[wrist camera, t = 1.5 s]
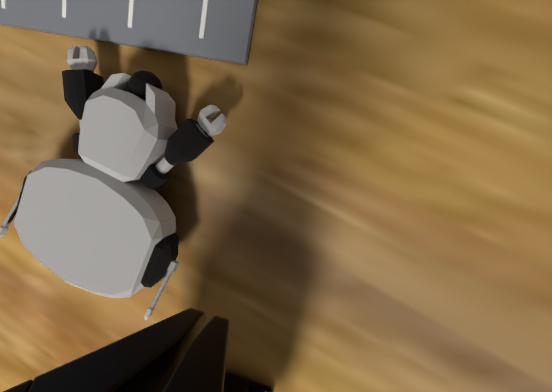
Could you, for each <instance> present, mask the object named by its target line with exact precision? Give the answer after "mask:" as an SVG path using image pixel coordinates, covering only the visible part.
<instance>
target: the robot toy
mask: <svg viewBox="0 0 552 392" xmlns="http://www.w3.org/2000/svg"><path fill="white" fill-rule="evenodd" d="M67 62H68V63H69V65H70V67H71V69H72V70H65V71H62V76H63V87H64V99H65V101H66V102H67V104H68V105H69V107H70V108H71V110H72V111H73V113H74V114H75V115H76V116H77V118H78V119H79V123H80V133H76V134H74V135H73V142H74V151H78V153H79V155H80V156H81V158H82V159H52V160H48V161H43V162H41V163H40V164H39V165H38V166H37V167H36V168H35V169H34V170H33V171H30V172H29V173H28V175H27V176H26V177H25V179H24V182H23V185H22V186H21V188H20V190H19V191H20V192H21V193H20V195H19V197H18V199H17V201H16V202H15V204H14V206H13V207H12V209H11V211H10V213H9V214H8V216H7V218H6V219H5V221H4V223H3V225H2V226H1V227H0V237H2V236H4V235H5V234H6V232H7V231H8V229H9V228H8V226H9V225H10V223H11V221H12V220H13V218H14V216H15V214H16V213H17V214H16V217H15V221H14V226H15V228H16V230H17V232H18V235H19V237H20V239H21V242H22V244H23V245H24V247H25V248H26V249H27V250H28V251H29V252H30V253H31V254H32V255H33V256H34V257H35V258H36V259H37V260H38V261H39V262H40V263H41V264H43V265H44V266H45V267H47V268H48V269H49V270H50V271H52V272H53V273H54V274H56V275H57V276H58V277H60V278H61V279H62V280H64V281H65V282H67V283H68V284H70V285H73V286H76V287H78V288H81V289H83V290H86V291H89V292H91V293H94V294H97V295H101V296H106V297H110V298H124V297H131V296H133V295H134V294H135V293H137V292H138V291H140V290H141V289H142V288H144V287H152V286H154V285H155V284H156V283H158V282H159V281H160V280H162V279H163V278H164V277H165V276H166V277H165V279H164V281H163V283H162V284H161V286H160V288H159V290H158V292H157V294H156V296H155V298H154V300H153V302H152V304H151V306H150V308H148V310H147V312H146V313H145V315H144V317H145V321H146V320H147V319H148V318H149V317H150V316H151V315H152V313H153V311H154V307H155V305H156V303H157V301H158V299H159V297H160V295H161V293H162V292H163V290H164V288H165V286H166V284H167V282H168V280H169V278H170V276H171V274H172V272H174V271H175V270H176V268H177V267H178V265H179V262H177V261H175V260H176V258H177V255H178V244H179V237H178V235H177V234H176V233H175V231H176V219H175V215H174V214H173V212H172V210H171V208H170V206H169V205H168V203H167V202H166V201H165V200H164V199H163V197H162V196H160V195H159V194H158V193H157V192H156V191H155V190H156V189H158V188H159V187H160V186H162V185H163V184H164V183H165V182H166V181H167V180H168V179H169V178H170V177H169V174H168V171H169V170H170V169H171V168H172V167H173V166H174V165H178V164H182V163H186V162H189V161H192V160H194V159H196V158H197V157H198V156H199V155H200V154H201V153H202V152H203V151H204V150H205V149H206V148H207V147H209V146H210V145H211V144H212V143H213V142H214V140H213V139H212V137H211V136H214V135H217V134H221V132H222V131H223V129H224V128H225V127H226V125H227V118H226V117H225V115H224V114H222V113H221V114H220V115H219V117H217V118H216V119H215V120H214V121H212V120H211V119H212V118H213V117H214V116H215V115H216V114H217V113H218V112H220V109H219V108H218V107H217V106H216V105H211V104H210V105H208V106H206V107H205V108H203V109H201V111H200V113H199V116H198V119H197V121H195V120H193V119H187V120H186V121H185V122H184V123H183V124H182V125H181V126H180V127H179V128H177V125H176V122H175V104H176V103H175V102H174V100H173V99H172V98H171V97H170V95H169V94H168V93H167V92H165V91H163V90H162V85H161V82H160V80H159V79H158V78H157V77H156V76H155V75H154V74H153V73H151V72H147V71H138V72H136V73H134V74H133V75H132V76H130V75H128V74H126V73H120V74H112V75H111V76H110V77H109V79H108V80H107V81H106V82H105V84H104V81H103V77H101V76H99V75H97V74H95V73H93V72H94V70H95V68H96V65H97V59H96V56H95V52H94V51H93V50H92V49H91V48H89V47H88V46H84V45H83V46H80V48H79V47H77V46H72V47H71V48H70V49H68V54H67ZM154 189H155V190H154Z"/></svg>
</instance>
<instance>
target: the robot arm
mask: <svg viewBox="0 0 552 392" xmlns="http://www.w3.org/2000/svg"><path fill="white" fill-rule="evenodd" d="M204 322H205V313H204V312H203V311H199V310H196V309H193V308H190V309H187V310H185V311H182V312H180V313H178V314H176V315H173V316H171V317H169V318H167V319H165V320H162V321H160V322H158V323H156V324H153V325H151V326H149V327H147V328H144V329H142V330H140V331H138V332H136V333H133V334H131V335H129V336H127V337H124V338H122V339H120V340H118V341H115V342H113V343H111V344H109V345H107V346H104V347H102V348H100V349H98V350H95V351H93V352H91V353H89V354H86V355H84V356H82V357H80V358H78V359H75V360H73V361H71V362H69V363H66V364H64V365H62V366H60V367H57V368H55V369H53V370H51V371H48V372H46V373H44V374H42V375H40V376H37V377H36V378H35V379H34V380H28V381H26V382H24V383H21V384H19V385H17V386H15V387H12V388H10V389H8V390H6V391H3V392H272V390H271V389H270V388H269V387H267V386H264V385H261V384H258V383H255V382H252V381H249V380H246V379H244V378H241V377H238V376H235V375H232V374H229V373H226V372H225V366H226V354H227V343H228V331H229V320H228V319H225V318H222V317H219V316H214V317H213V318H212V319H211V320H210V322H209V323H208V324H207V325H206V326H205V327H204ZM203 328H204V329H203Z"/></svg>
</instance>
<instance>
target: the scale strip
mask: <svg viewBox="0 0 552 392" xmlns="http://www.w3.org/2000/svg"><path fill="white" fill-rule="evenodd" d="M256 5H257V0H0V25H4V26H10V27H16V28H23V29H29V30H35V31H41V32H47V33H53V34H59V35H65V36H71V37H78V38H84V39H90V40H96V41H102V42H108V43H114V44H120V45H126V46H133V47H139V48H145V49H151V50H157V51H163V52H169V53H175V54H182V55H188V56H194V57H200V58H206V59H212V60H218V61H224V62H230V63H237V64H243V65H247V62H248V56H249V49H250V43H251V37H252V30H253V24H254V17H255V11H256Z"/></svg>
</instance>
